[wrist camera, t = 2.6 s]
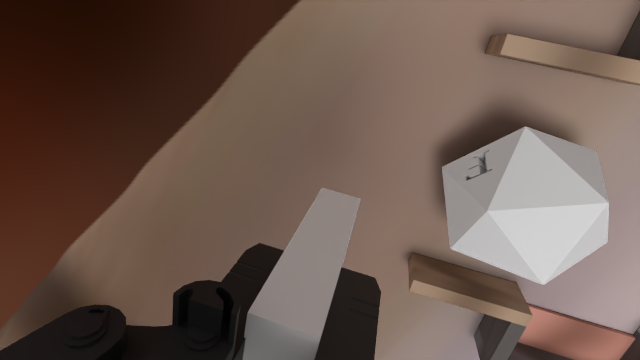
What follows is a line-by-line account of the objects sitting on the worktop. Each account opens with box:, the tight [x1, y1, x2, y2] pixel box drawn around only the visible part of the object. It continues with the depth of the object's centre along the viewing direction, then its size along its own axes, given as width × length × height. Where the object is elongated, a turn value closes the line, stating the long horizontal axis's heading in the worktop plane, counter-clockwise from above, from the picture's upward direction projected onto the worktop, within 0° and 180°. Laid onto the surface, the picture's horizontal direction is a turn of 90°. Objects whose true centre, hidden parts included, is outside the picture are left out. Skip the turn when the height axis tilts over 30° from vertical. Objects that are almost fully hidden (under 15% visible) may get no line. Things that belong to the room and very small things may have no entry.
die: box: [442, 126, 609, 285], centre depth 20 cm, size 8×9×10 cm
